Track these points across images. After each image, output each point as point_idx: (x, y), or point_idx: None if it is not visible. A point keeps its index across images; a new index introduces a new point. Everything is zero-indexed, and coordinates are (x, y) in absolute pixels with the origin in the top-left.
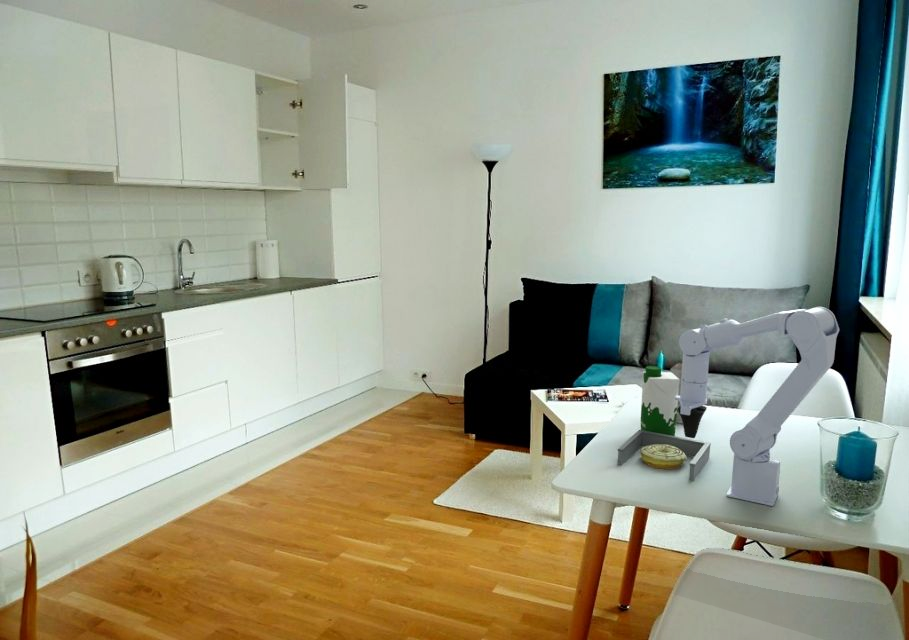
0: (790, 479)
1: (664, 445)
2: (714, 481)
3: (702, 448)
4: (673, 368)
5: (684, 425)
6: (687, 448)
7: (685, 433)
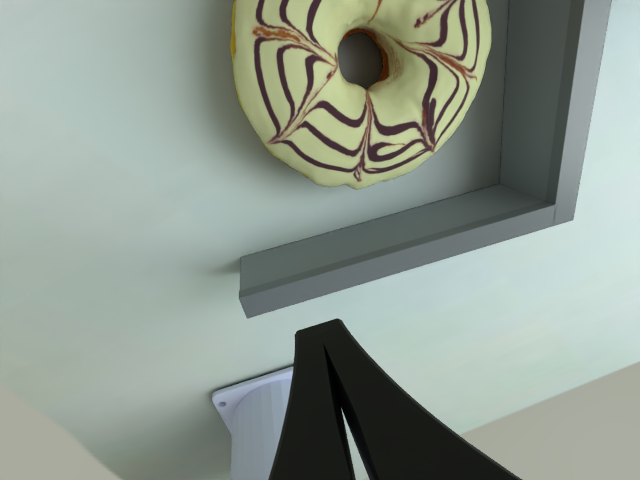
0: (462, 402)
1: (443, 27)
2: (305, 312)
3: (477, 233)
4: None
5: (288, 425)
6: (529, 113)
7: (295, 355)
